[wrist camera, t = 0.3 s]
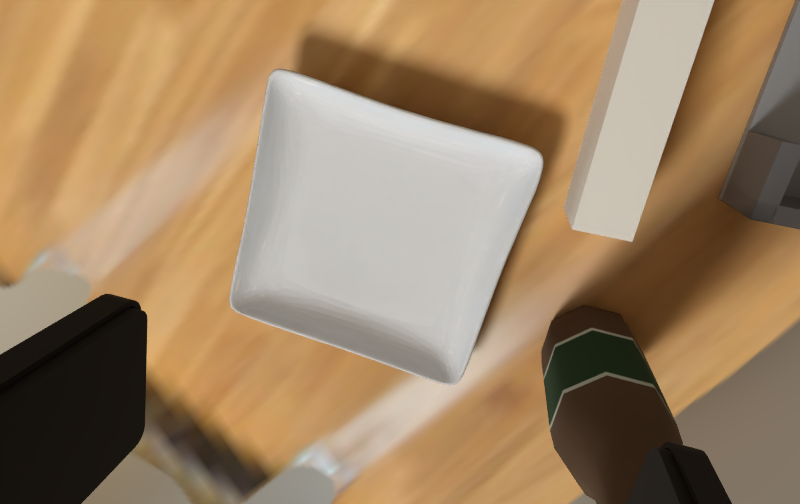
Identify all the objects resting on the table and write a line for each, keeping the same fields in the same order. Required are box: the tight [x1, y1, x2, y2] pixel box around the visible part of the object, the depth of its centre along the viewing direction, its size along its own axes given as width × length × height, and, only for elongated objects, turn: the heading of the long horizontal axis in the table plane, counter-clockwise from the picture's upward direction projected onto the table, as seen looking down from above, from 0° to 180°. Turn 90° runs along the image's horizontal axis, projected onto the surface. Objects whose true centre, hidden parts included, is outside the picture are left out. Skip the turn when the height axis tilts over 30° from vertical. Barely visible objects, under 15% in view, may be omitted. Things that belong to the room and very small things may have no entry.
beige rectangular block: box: [563, 0, 714, 242], centre depth 37 cm, size 16×4×6 cm, turn 171°
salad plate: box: [230, 69, 543, 385], centre depth 44 cm, size 21×21×3 cm
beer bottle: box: [542, 306, 683, 504], centre depth 35 cm, size 8×8×24 cm
